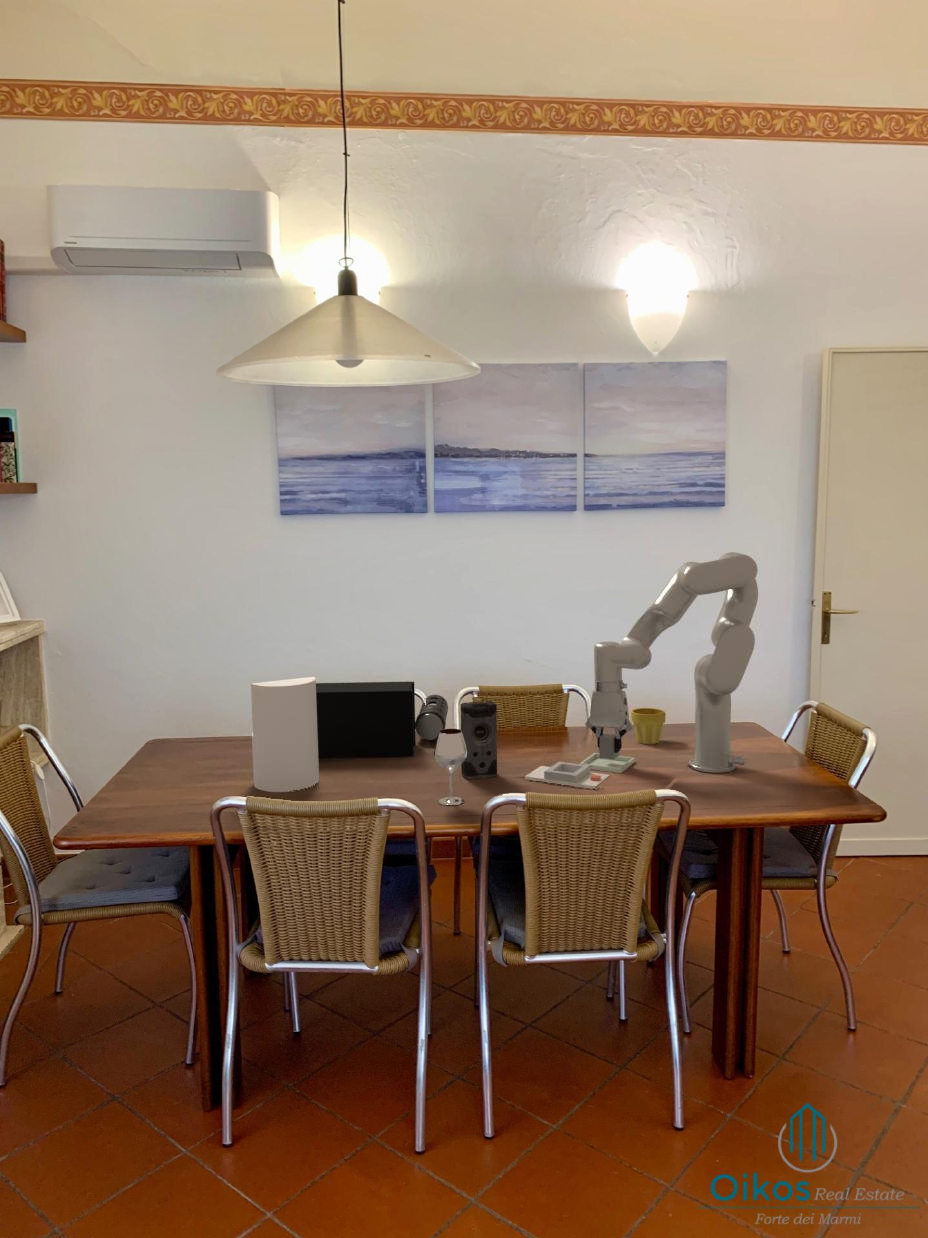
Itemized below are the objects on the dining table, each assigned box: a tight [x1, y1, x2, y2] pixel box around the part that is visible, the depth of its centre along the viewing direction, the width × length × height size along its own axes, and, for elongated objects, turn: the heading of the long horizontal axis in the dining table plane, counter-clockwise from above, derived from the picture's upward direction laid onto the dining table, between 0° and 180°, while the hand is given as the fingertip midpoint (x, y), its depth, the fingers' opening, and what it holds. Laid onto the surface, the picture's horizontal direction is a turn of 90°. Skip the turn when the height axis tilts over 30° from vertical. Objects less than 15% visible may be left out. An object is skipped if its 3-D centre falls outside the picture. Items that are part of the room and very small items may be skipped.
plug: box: [598, 732, 620, 759], centre depth 254 cm, size 4×5×6 cm
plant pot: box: [630, 707, 666, 745], centre depth 281 cm, size 10×10×10 cm
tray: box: [578, 752, 636, 774], centre depth 255 cm, size 12×12×2 cm
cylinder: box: [250, 676, 320, 793], centre depth 244 cm, size 17×17×28 cm
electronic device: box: [460, 700, 498, 780], centre depth 248 cm, size 9×6×20 cm, turn 105°
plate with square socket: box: [524, 761, 611, 789], centre depth 244 cm, size 20×11×3 cm, turn 62°
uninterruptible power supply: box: [316, 681, 417, 760], centre depth 274 cm, size 16×34×20 cm, turn 91°
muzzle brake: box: [415, 694, 449, 741], centre depth 296 cm, size 10×28×10 cm, turn 178°
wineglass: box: [433, 728, 467, 806], centre depth 226 cm, size 8×8×18 cm
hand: (609, 750), depth 254 cm, fingers closed on plug, 3 cm apart
